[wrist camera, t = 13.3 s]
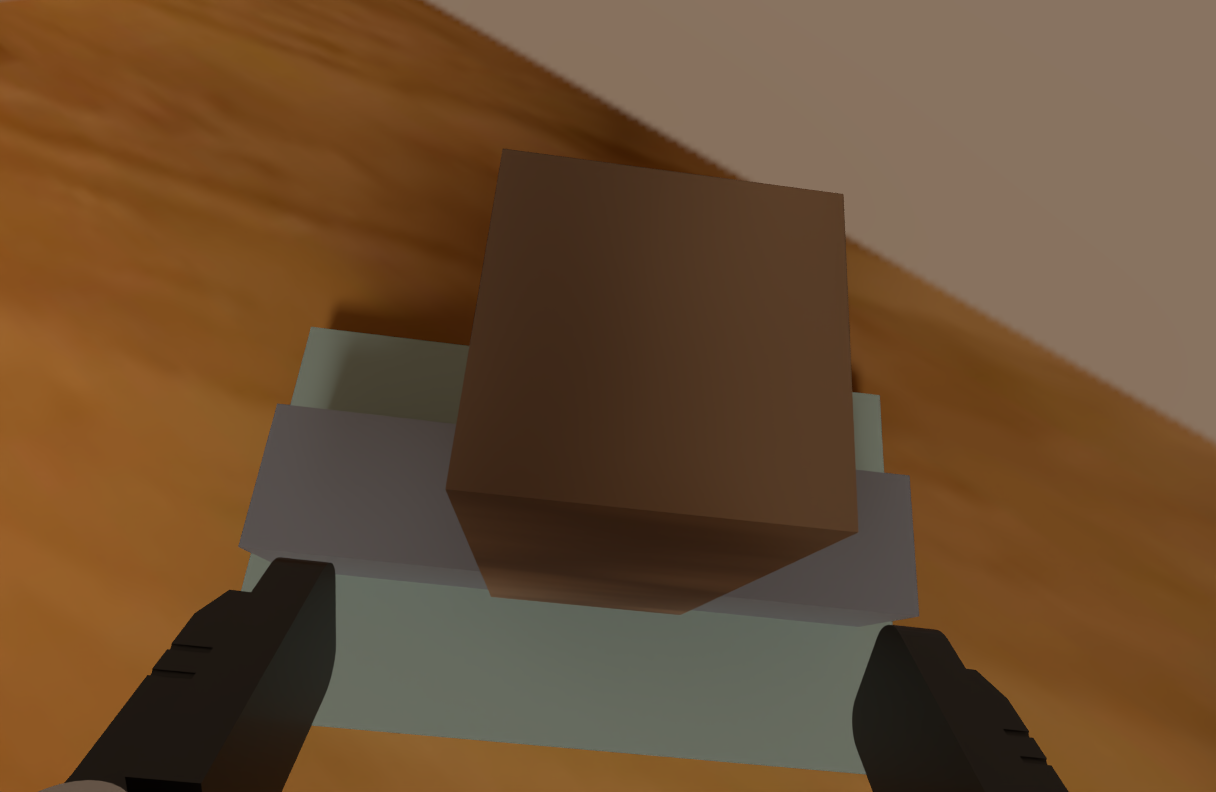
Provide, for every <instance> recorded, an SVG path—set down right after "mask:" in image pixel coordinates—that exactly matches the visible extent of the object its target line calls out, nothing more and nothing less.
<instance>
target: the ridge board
mask: <svg viewBox="0 0 1216 792" xmlns="http://www.w3.org/2000/svg"><path fill="white" fill-rule="evenodd" d="M468 352H469V346H466V345H457V344H449V343H441V342H432V341H424V340H416V339H408V338H399V337H391V336H383V335H374V334H366V333H358V332H349V331H341V330H333V329H325V328H316V327H311V330H310V333H309V337H308V341H307V345H306V348H305V352H304V356H303V360H302V363H301V367H300V371H299V375H298V379H297V382H296V386H295V390H294V394H293V397H292V401H291V405H285V404H277V407H276V411H275V414H274V418H273V422H272V425H271V429H270V433H269V436H268V440H267V444H266V447H265V451H264V455H263V458H262V462H261V466H260V469H259V473H258V477H257V480H256V484H255V488H254V491H253V495H252V499H251V502H250V506H249V510H248V513H247V517H246V521H245V524H244V528H243V532H242V535H241V539H240V543H239V546H238V547H240V548H242V549H244V550H246V551H248V552H250V553H251V556H250V559H249V563H248V567H247V571H246V574H245V578H244V582H243V586H242V589H241V591H245V592H252V590H253V589H254V587H255V586H256V584H257V583H258V581H259V580H260V578H261V577H262V576H263V574H264V573H265V571H266V570H267V568H268V567H269V565H270V564H271V563H272V561H273V560H274V559H276V558H278V557H283V558H292V559H301V560H311V561H320V562H329V563H332V564H333V565H334V568H335V576H336V654H335V661H334V667H333V672H332V676H331V679H330V683H329V686H328V689H327V691H326V694H325V696H324V699H323V701H322V703H321V705H320V707H319V710H318V712H317V714H316V716H315V719H314V721H313V723H312V725H313V726H324V727H336V728H347V729H358V730H370V731H381V732H392V733H404V734H415V735H426V736H438V737H449V738H460V739H472V740H483V741H494V742H506V743H517V744H528V745H540V746H551V747H562V748H574V749H585V750H596V751H608V752H619V753H630V754H642V755H653V756H664V757H676V758H687V759H698V760H710V761H721V762H732V763H744V764H755V765H766V766H778V767H789V768H800V769H812V770H823V771H834V772H846V773H857V774H866V772H865V770H864V767H863V764H862V762H861V759H860V756H859V754H858V751H857V748H856V745H855V742H854V737H853V730H852V711H853V705H854V701H855V698H856V695H857V692H858V689H859V686H860V684H861V681H862V678H863V675H864V672H865V670H866V667H867V664H868V661H869V659H870V656H871V653H872V650H873V647H874V645H875V642H876V639H877V636H878V634H879V632H880V630H881V629H882V628H883V627H884V626H886V625H892V621H895V620H901V619H906V618H912V617H918V616H919V608H918V593H917V579H916V564H915V550H914V535H913V521H912V506H911V492H910V477H909V476H908V475H899V474H890V473H884V465H883V447H882V429H881V411H880V395H872V394H864V393H856V392H852V397H853V419H854V442H855V464H856V486H857V509H858V531H859V532H858V533H856V534H854V535H852V536H850V537H848V538H845V539H843V540H841V541H839V542H837V543H835V544H832V545H830V546H828V547H826V548H824V549H822V550H820V551H817V552H815V553H813V554H811V555H809V556H807V557H805V558H802V559H800V560H798V561H796V562H794V563H792V564H789V565H787V566H785V567H783V568H781V569H779V570H777V571H774V572H772V573H770V574H768V575H766V576H764V577H761V578H759V579H757V580H755V581H753V582H751V583H749V584H746V585H744V586H742V587H740V588H738V589H736V590H733V591H731V592H729V593H727V594H725V595H723V596H721V597H718V598H716V599H714V600H712V601H710V602H708V603H705V604H703V605H701V606H699V607H697V608H695V609H693V610H690V611H688V612H686V613H684V614H682V615H674V614H663V613H653V612H643V611H632V610H622V609H611V608H601V607H591V606H580V605H570V604H559V603H549V602H538V601H528V600H518V599H507V598H497V597H491V596H490V593H489V591H488V588H487V586H486V584H485V581H484V579H483V577H482V574H481V572H480V570H479V567H478V565H477V563H476V560H475V558H474V556H473V553H472V551H471V549H470V546H469V544H468V541H467V539H466V537H465V534H464V532H463V530H462V527H461V525H460V523H459V520H458V518H457V516H456V513H455V511H454V509H453V506H452V504H451V502H450V499H449V497H448V494H447V492H446V490H445V488H446V482H447V476H448V470H449V464H450V458H451V452H452V446H453V440H454V434H455V428H456V423H457V417H458V411H459V405H460V399H461V393H462V387H463V381H464V375H465V369H466V363H467V357H468Z"/></svg>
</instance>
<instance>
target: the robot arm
mask: <svg viewBox="0 0 1216 792" xmlns="http://www.w3.org/2000/svg"><path fill="white" fill-rule="evenodd" d="M335 654H336V576H335V568H334V565H333V564H332V563H329V562H320V561H311V560H301V559H292V558H283V557H278V558H276V559H274V560H273V561H272V563H271V564H270V565H269V567H268V568H267V570H266V571H265V573H264V574H263V576H262V577H261V578H260V580H259V581H258V583H257V584H256V586H255V587H254V589H253V590H252V592H245V591H236V590H229V591H227V592H226V593H224V594H223V595H221V596H220V597H218V598H217V599H215V600H214V601H212V602H211V603H209V604H208V605H206V606H205V607H203V608H202V609H201V610H199V611H198V612H196V613H195V614H194V615H193V616H192V618H191V619H190V620H189V621H188V623H187V624H186V625H185V627H184V628H183V629H182V631H181V632H180V633H179V635H178V636H177V637H176V639H175V640H174V641H173V642H172V646H171V649H170V650H168V649H167V650H166V652H165V653H164V654H163V656H162V657H161V658H160V659H159V661H158V662H157V663H156V665H155V666H154V667H153V670H152V674H151V675H147V677H146V678H145V679H144V680H143V682H142V683H141V684H140V686H139V687H138V688H137V690H136V691H135V692H134V694H133V695H132V696H131V697H130V699H129V700H128V701H127V703H126V704H125V705H124V707H123V708H122V709H121V711H120V712H119V713H118V715H117V716H116V717H115V718H114V720H113V721H112V722H111V724H110V725H109V726H108V728H107V729H106V730H105V732H104V733H103V734H102V735H101V737H100V738H99V739H98V741H97V742H96V743H95V745H94V746H93V747H92V749H91V750H90V751H89V753H88V754H87V755H86V756H85V758H84V759H83V760H82V762H81V763H80V764H79V766H78V767H77V768H76V770H75V771H74V772H73V773H72V775H71V776H70V777H69V778H68V779H67V781H66V782H65V783H63V784H59V785H56V786H53V787H50V788H46V789H44V790H41V791H39V792H282V790H283V787H284V785H285V783H286V781H287V779H288V776H289V774H290V772H291V770H292V767H293V765H294V763H295V761H296V759H297V756H298V754H299V752H300V750H301V747H302V745H303V743H304V741H305V739H306V736H307V734H308V732H309V730H310V727H311V725H312V723H313V721H314V719H315V716H316V714H317V712H318V710H319V707H320V705H321V703H322V701H323V699H324V696H325V694H326V691H327V689H328V686H329V683H330V679H331V676H332V672H333V667H334V661H335ZM852 730H853V737H854V742H855V745H856V748H857V751H858V754H859V756H860V759H861V762H862V764H863V767H864V770H865V772H866V775H867V777H868V780H869V783H870V785H871V788H872V791H873V792H1068V790H1067V789H1066V787H1065V786H1064V784H1063V783H1062V781H1061V780H1060V778H1059V777H1058V775H1057V774H1056V772H1055V771H1054V769H1053V767H1052V766H1050V765H1047V763H1046V759H1047V758H1046V757H1045V755H1044V754H1043V752H1042V751H1041V749H1040V748H1039V746H1038V745H1037V743H1036V742H1035V740H1034V738H1030V737H1029V734H1028V733H1029V731H1028V729H1027V728H1026V726H1025V725H1024V723H1023V722H1022V720H1021V719H1020V717H1019V716H1018V714H1017V713H1016V711H1015V710H1014V708H1013V706H1012V705H1011V703H1010V702H1009V700H1008V699H1007V698H1006V697H1005V696H1004V695H1003V694H1002V693H1000V692H999V691H998V690H997V689H996V688H995V687H994V686H993V685H992V684H991V683H989V682H988V681H987V680H986V679H985V678H984V677H983V676H982V675H981V674H980V673H979V672H977V671H976V670H971V669H966V668H965V667H964V665H963V663H962V662H961V660H960V659H959V657H958V655H957V654H956V652H955V650H954V649H953V647H952V646H951V644H950V642H949V641H948V639H947V638H946V636H945V635H944V634H943V633H942V632H940V631H939V630H934V629H925V628H915V627H906V626H897V625H886V626H884V627H883V628H882V629H881V630H880V632H879V634H878V636H877V639H876V642H875V645H874V647H873V650H872V653H871V656H870V659H869V661H868V664H867V667H866V670H865V672H864V675H863V678H862V681H861V684H860V686H859V689H858V692H857V695H856V698H855V701H854V705H853V711H852Z"/></svg>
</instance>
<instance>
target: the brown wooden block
mask: <svg viewBox="0 0 1216 792" xmlns="http://www.w3.org/2000/svg"><path fill="white" fill-rule="evenodd" d="M445 490H446V492H447V494H448V497H449V499H450V502H451V504H452V506H453V509H454V511H455V513H456V516H457V518H458V520H459V523H460V525H461V527H462V530H463V532H464V534H465V537H466V539H467V541H468V544H469V546H470V549H471V551H472V553H473V556H474V558H475V560H476V563H477V565H478V567H479V570H480V572H481V574H482V577H483V579H484V581H485V584H486V586H487V588H488V591H489V593H490V596H491V597H497V598H507V599H518V600H528V601H538V602H549V603H559V604H570V605H580V606H591V607H601V608H611V609H622V610H632V611H643V612H653V613H663V614H674V615H682V614H684V613H686V612H688V611H690V610H693V609H695V608H697V607H699V606H701V605H703V604H705V603H708V602H710V601H712V600H714V599H716V598H718V597H721V596H723V595H725V594H727V593H729V592H731V591H733V590H736V589H738V588H740V587H742V586H744V585H746V584H749V583H751V582H753V581H755V580H757V579H759V578H761V577H764V576H766V575H768V574H770V573H772V572H774V571H777V570H779V569H781V568H783V567H785V566H787V565H789V564H792V563H794V562H796V561H798V560H800V559H802V558H805V557H807V556H809V555H811V554H813V553H815V552H817V551H820V550H822V549H824V548H826V547H828V546H830V545H832V544H835V543H837V542H839V541H841V540H843V539H845V538H848V537H850V536H852V535H854V534H856V533H858V532H859V531H858V509H857V486H856V464H855V442H854V419H853V397H852V375H851V352H850V330H849V308H848V286H847V263H846V241H845V220H844V197H843V194H838V193H831V192H823V191H815V190H808V189H800V188H793V187H785V186H778V185H771V184H763V183H756V182H748V181H741V180H733V179H726V178H718V177H711V176H704V175H696V174H689V173H681V172H674V171H666V170H659V169H651V168H644V167H636V166H629V165H621V164H614V163H606V162H599V161H592V160H584V159H577V158H569V157H562V156H554V155H547V154H539V153H532V152H524V151H517V150H509V149H503V151H502V157H501V162H500V168H499V174H498V180H497V186H496V192H495V198H494V204H493V210H492V216H491V222H490V227H489V233H488V239H487V245H486V251H485V257H484V263H483V269H482V275H481V281H480V287H479V292H478V298H477V304H476V310H475V316H474V322H473V328H472V334H471V340H470V346H469V352H468V357H467V363H466V369H465V375H464V381H463V387H462V393H461V399H460V405H459V411H458V417H457V423H456V428H455V434H454V440H453V446H452V452H451V458H450V464H449V470H448V476H447V482H446V488H445Z"/></svg>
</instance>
